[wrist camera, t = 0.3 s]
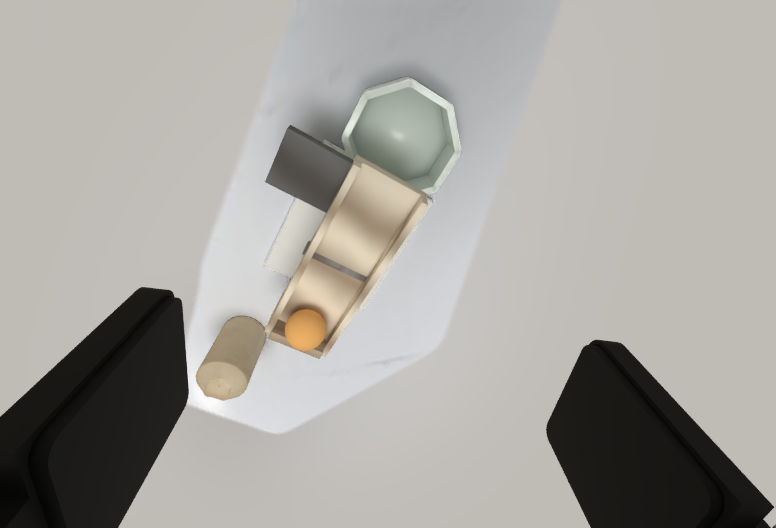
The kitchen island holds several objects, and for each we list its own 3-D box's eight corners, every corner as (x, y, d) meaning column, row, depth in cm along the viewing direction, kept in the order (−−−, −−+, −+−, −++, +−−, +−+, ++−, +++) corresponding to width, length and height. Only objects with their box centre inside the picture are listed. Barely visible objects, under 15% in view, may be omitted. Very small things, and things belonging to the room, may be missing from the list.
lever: (293, 118, 31) (283, 128, 28) (428, 193, 34) (430, 209, 31) (220, 293, 40) (207, 313, 38) (330, 339, 44) (326, 361, 41)
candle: (274, 341, 51) (253, 400, 42) (238, 355, 52) (210, 415, 43) (251, 309, 49) (223, 364, 40) (214, 324, 50) (179, 381, 41)
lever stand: (324, 139, 40) (314, 152, 34) (431, 199, 43) (441, 221, 37) (265, 261, 46) (248, 292, 40) (363, 306, 49) (361, 340, 43)
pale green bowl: (379, 58, 36) (380, 58, 32) (469, 115, 39) (481, 122, 35) (331, 155, 40) (326, 167, 36) (415, 201, 43) (420, 217, 39)
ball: (299, 295, 38) (287, 325, 35) (336, 311, 39) (328, 342, 36) (285, 318, 41) (273, 349, 38) (320, 333, 42) (312, 364, 39)
